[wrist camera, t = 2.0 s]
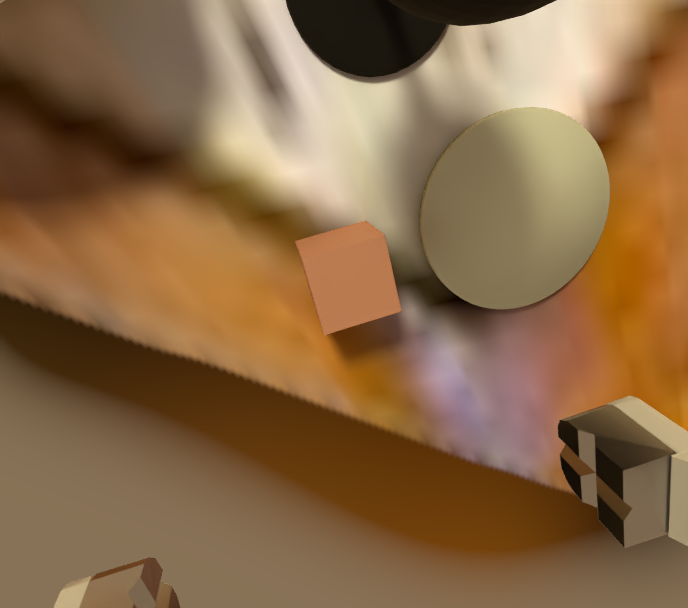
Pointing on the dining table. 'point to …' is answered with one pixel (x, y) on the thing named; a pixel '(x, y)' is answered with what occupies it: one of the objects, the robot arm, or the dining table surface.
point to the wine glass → (390, 28)
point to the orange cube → (349, 276)
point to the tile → (514, 207)
